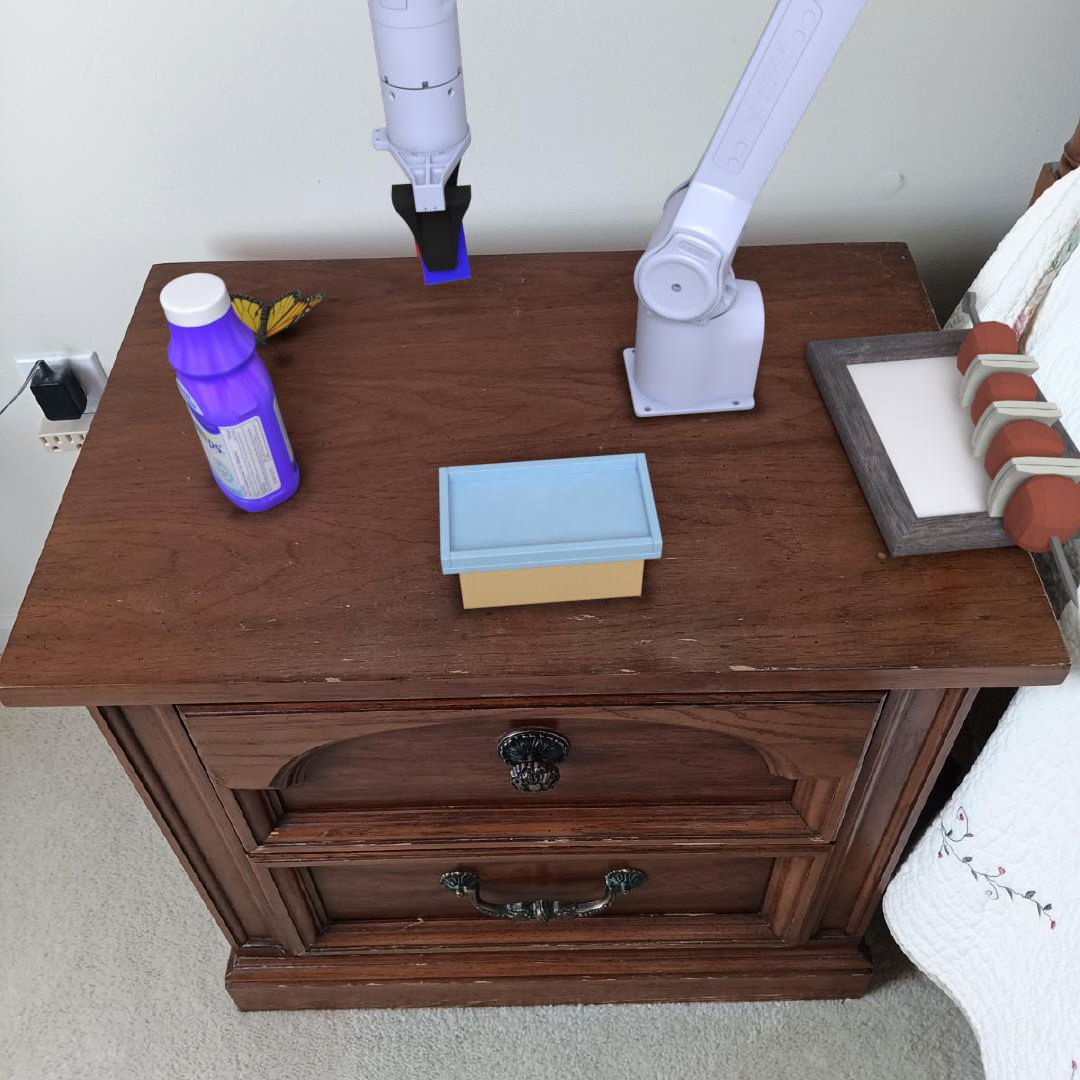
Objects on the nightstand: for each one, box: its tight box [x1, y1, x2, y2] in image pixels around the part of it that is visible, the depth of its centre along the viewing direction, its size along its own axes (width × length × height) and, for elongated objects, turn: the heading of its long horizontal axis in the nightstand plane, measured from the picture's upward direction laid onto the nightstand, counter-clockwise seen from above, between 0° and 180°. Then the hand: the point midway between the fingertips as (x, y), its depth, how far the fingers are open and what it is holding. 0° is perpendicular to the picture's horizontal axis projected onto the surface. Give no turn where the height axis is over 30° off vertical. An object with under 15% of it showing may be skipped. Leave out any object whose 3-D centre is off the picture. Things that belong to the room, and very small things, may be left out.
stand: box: [438, 452, 663, 610], centre depth 68 cm, size 14×8×6 cm, turn 94°
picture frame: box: [804, 327, 1080, 558], centre depth 76 cm, size 16×2×21 cm
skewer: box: [957, 291, 1080, 610], centre depth 71 cm, size 5×5×30 cm
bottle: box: [159, 272, 301, 513], centre depth 69 cm, size 7×6×17 cm
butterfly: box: [228, 289, 327, 375], centre depth 84 cm, size 12×9×5 cm
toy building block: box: [413, 221, 472, 286], centre depth 78 cm, size 4×4×8 cm
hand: (441, 243), depth 79 cm, fingers closed on toy building block, 6 cm apart
